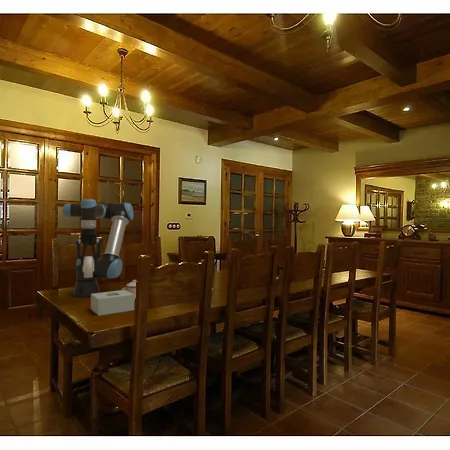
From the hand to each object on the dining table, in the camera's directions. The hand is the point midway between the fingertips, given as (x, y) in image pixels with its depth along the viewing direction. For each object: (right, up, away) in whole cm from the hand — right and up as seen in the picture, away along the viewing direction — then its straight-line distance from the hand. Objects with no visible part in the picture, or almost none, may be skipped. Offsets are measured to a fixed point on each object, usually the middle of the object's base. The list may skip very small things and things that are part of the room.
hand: (88, 271), depth 183 cm
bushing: (0, -3, 0) cm, 3 cm away
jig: (+15, -19, -7) cm, 25 cm away
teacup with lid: (+20, -19, +14) cm, 31 cm away
